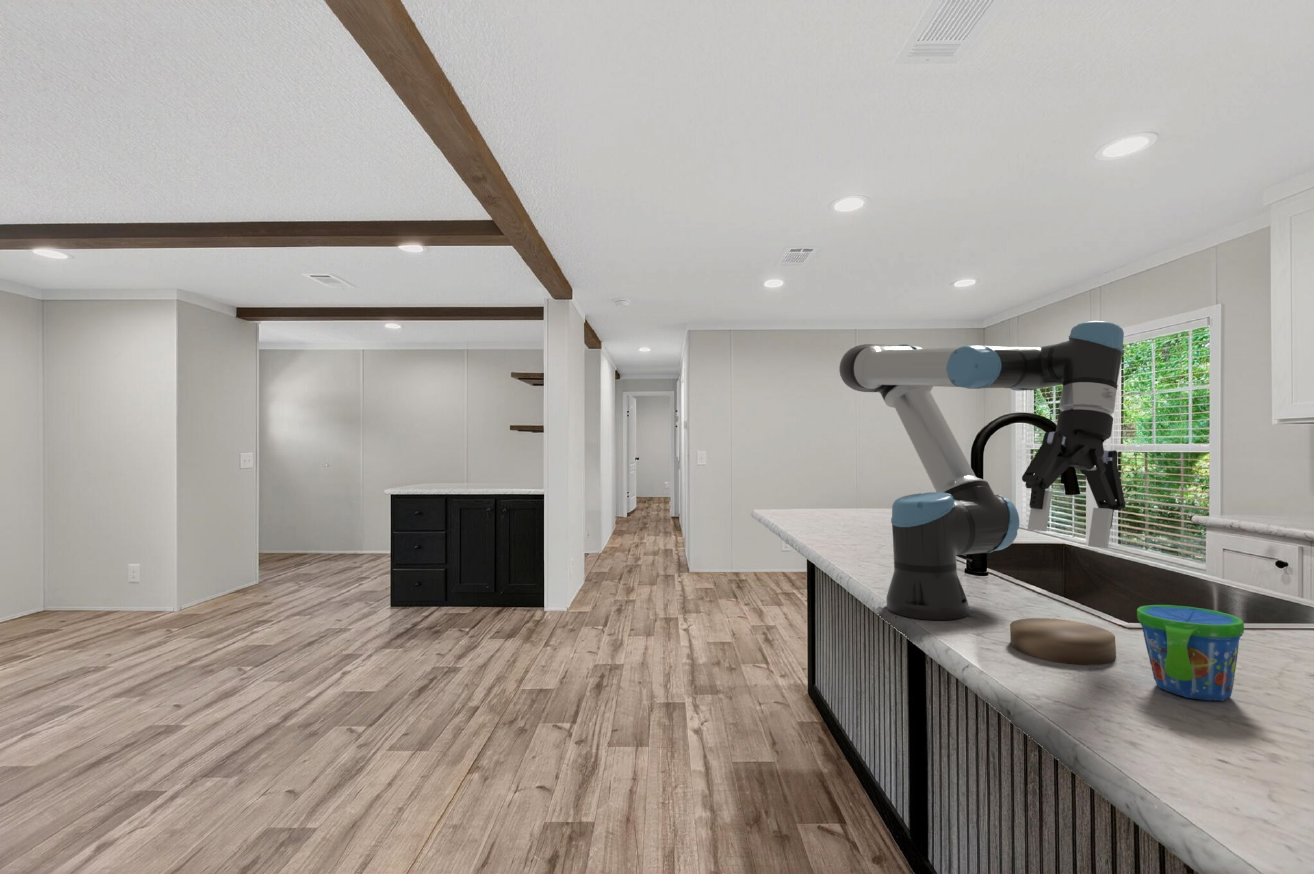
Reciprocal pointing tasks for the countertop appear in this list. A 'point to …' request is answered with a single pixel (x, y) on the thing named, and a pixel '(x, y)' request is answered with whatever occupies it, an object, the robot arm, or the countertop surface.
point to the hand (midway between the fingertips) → (1067, 539)
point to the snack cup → (1192, 649)
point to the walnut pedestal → (1063, 641)
